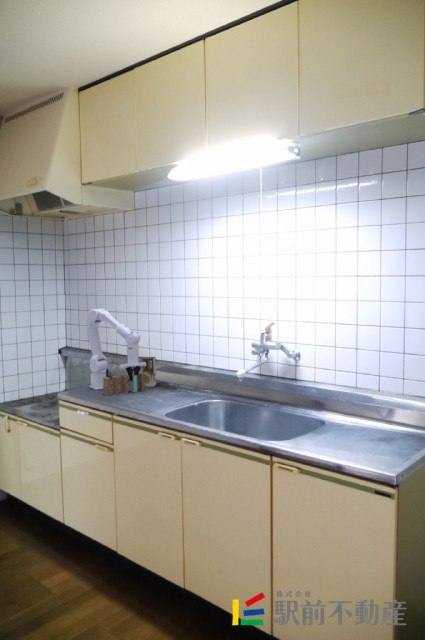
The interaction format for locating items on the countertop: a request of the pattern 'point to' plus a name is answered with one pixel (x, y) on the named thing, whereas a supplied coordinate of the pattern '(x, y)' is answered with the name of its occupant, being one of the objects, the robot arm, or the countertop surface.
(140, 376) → the domino
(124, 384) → the domino
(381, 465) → the countertop surface
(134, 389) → the domino
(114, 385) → the domino
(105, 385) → the domino
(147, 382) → the coffee box
